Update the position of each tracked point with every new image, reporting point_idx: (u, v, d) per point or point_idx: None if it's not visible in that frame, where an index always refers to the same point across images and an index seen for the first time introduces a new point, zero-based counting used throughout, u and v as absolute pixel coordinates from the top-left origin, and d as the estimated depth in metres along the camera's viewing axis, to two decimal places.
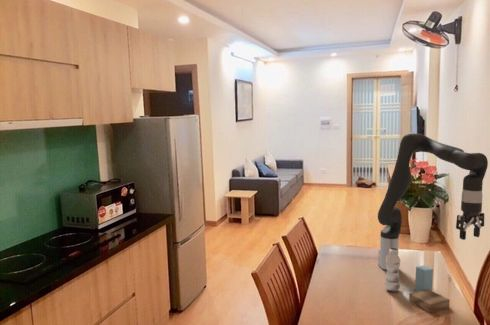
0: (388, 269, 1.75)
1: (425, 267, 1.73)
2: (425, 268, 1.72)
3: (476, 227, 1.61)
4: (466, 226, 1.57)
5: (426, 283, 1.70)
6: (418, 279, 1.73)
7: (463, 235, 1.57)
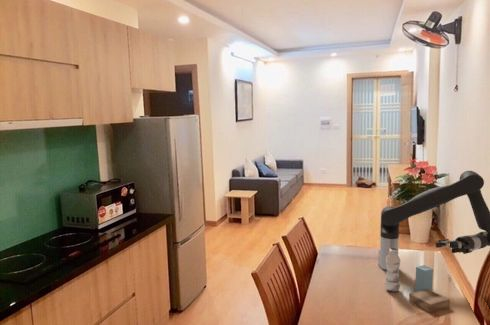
0: (388, 269, 1.75)
1: (425, 267, 1.73)
2: (425, 268, 1.72)
3: (442, 244, 1.82)
4: None
5: (426, 283, 1.70)
6: (418, 279, 1.73)
7: None
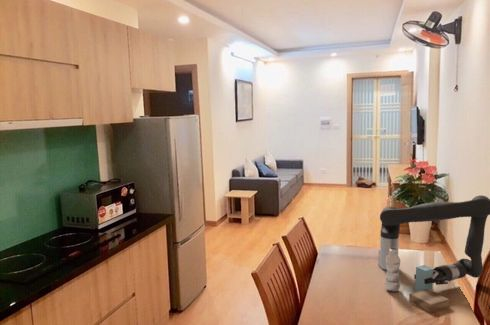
0: (388, 269, 1.75)
1: (425, 267, 1.73)
2: (425, 268, 1.72)
3: None
4: None
5: None
6: (418, 279, 1.73)
7: None
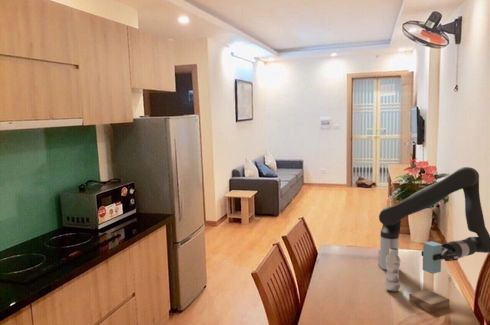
0: (388, 269, 1.75)
1: (433, 243, 1.61)
2: (433, 244, 1.60)
3: None
4: None
5: None
6: (425, 256, 1.61)
7: None
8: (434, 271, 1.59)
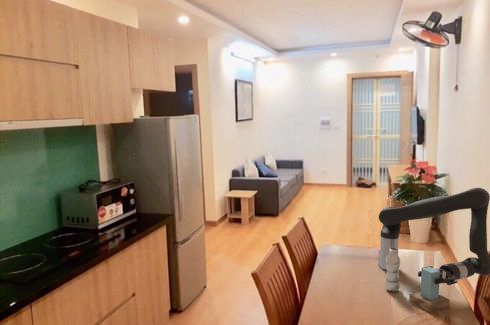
0: (388, 269, 1.75)
1: (431, 269, 1.62)
2: (432, 270, 1.61)
3: None
4: None
5: (432, 286, 1.59)
6: (423, 282, 1.62)
7: None
8: (432, 297, 1.60)
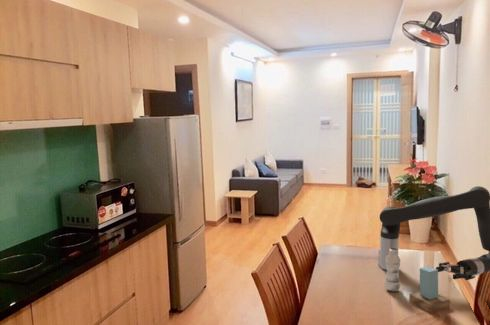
0: (388, 269, 1.75)
1: (429, 268, 1.62)
2: (430, 269, 1.61)
3: (443, 268, 1.70)
4: None
5: (431, 286, 1.59)
6: (422, 281, 1.62)
7: None
8: (431, 297, 1.60)
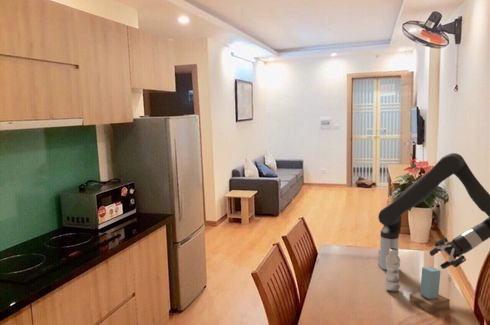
0: (388, 269, 1.75)
1: (432, 268, 1.62)
2: (432, 269, 1.61)
3: (438, 250, 1.75)
4: (453, 261, 1.68)
5: (432, 286, 1.59)
6: (423, 280, 1.62)
7: None
8: (431, 297, 1.60)
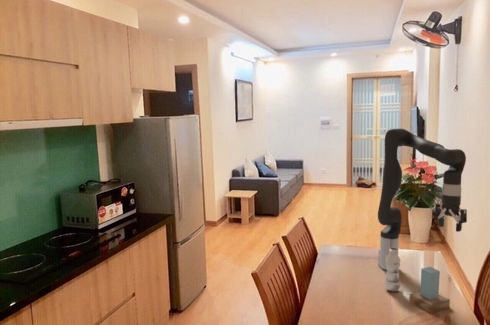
0: (388, 269, 1.75)
1: (431, 269, 1.61)
2: (431, 270, 1.60)
3: (442, 218, 1.74)
4: (460, 218, 1.67)
5: (432, 287, 1.59)
6: (423, 282, 1.62)
7: None
8: (431, 297, 1.60)
